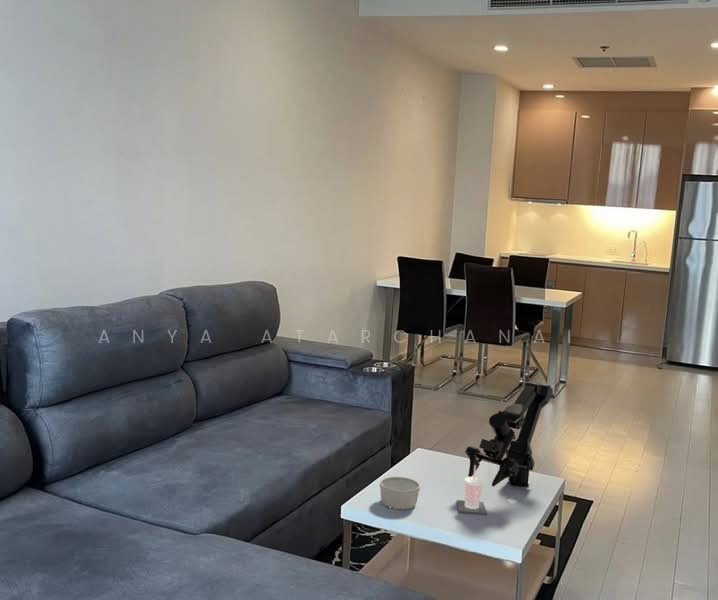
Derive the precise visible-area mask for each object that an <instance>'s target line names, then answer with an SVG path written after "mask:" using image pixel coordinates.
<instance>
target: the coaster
mask: <svg viewBox="0 0 718 600" xmlns="http://www.w3.org/2000/svg"><path fill="white" fill-rule="evenodd" d="M455 501H456V506H457V511H458V513H459V514H473V515H484V516H486V515H488V514H487V510H486V506H485V503H484V501H479V508H477V509H470V508H467V507H465V500H460V499H456V500H455Z"/></svg>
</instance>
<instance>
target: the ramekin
mask: <svg viewBox="0 0 718 600" xmlns="http://www.w3.org/2000/svg"><path fill="white" fill-rule="evenodd" d="M379 488H380V499H381V503H382V504H383V505H384V506H385V505H386V506H388V507H391V508H395V509H394V510H396V509H407V510H410V508H411V509H414V507H415V506H416V505H417V502H418V498H419V492H420V490H421V485H420V483H419V482H418V481H417V480H415V479H412V478H410V477H403V476H388V477H384V478H382V479H381V480H380V482H379ZM386 506H385V507H386ZM388 507H387V508H388ZM391 508H390V509H391Z"/></svg>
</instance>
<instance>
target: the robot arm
mask: <svg viewBox="0 0 718 600" xmlns="http://www.w3.org/2000/svg"><path fill="white" fill-rule="evenodd" d="M523 386H524V388H523V389H522V391H521V392H520V393H519V395H518V397H517V398H516V399H515V400H514V403H513V404H512V405H508V406H507V407H505V409H504V410H498V412H497V413H494V414H492V415H491V416H490V417H489V420H488V423H489V425H490V428H491V429H492V431H493V433H494V434H495V436H494V438H493V439H490V440H488V439H484V438H481V441H480V443H479V446H478V447H479V448H477V447H475V446H472V445H471V446H470V445H469V446H467V447H466V448H465V451H464V453H465V455H467V457H468V459H469V469H468V476H467V477H474V465H476V470H475V472H476V471H477V470H478V469H479V466H481V464H480V463H481V462H482V460H483V461H486V462H488V463H491V464H494V465H496V466H499V468H498V471H497V473H496V475H495V477H494V479H492V482H491V487H495V486H497V485H498V484H499V483H501V482H502V481H503V480H505V479H507V480H508V482H509V484H510V486H516V487H528V486H529V487H530V484H529V476H530V471H534V467H535V460H534V458H533V455H532V454H533V450H532V446H531V442H532V440H533V436H534V433H535V430H536V427H537V423H538V421H539V418H540V415H541V412H542V409H543V408H544V407H545V406H546V405H548V404H549V402H550V399H551V398H552V396H553V391H554V389H553V388H552V387H551V385H550V384H548V383H541V382H538V381H537V382H536V381H525V383H524V385H523ZM513 429H516V430H519V433H518V435H517V436H518V437H517V438H516V434H515V433H516V432H515V431H514V430H513ZM480 449H483V450H482V451H483V453H482V452H481V450H480ZM505 455H506V457H505Z"/></svg>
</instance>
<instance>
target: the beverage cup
mask: <svg viewBox="0 0 718 600" xmlns="http://www.w3.org/2000/svg"><path fill="white" fill-rule="evenodd" d="M475 470H476V465H474V474H473V476H472V477H468V476H467V477H465V478H464V501H465V507H467V508H470V509H477V508H479V502H481V501H480V500H481V495H482V487H483V484H484V480H483V479H482V478H480V477H476V471H477V470H476V471H475Z"/></svg>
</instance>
